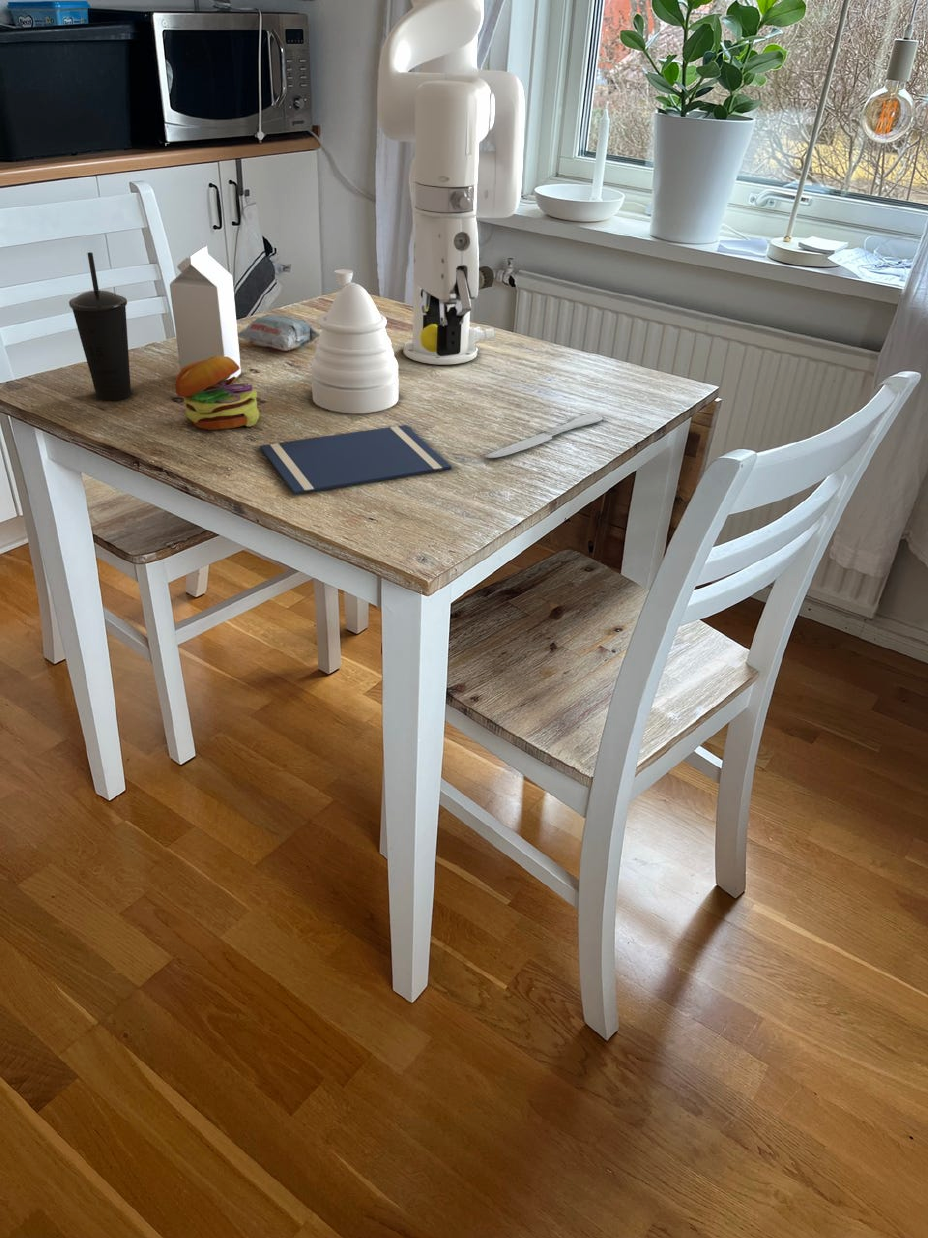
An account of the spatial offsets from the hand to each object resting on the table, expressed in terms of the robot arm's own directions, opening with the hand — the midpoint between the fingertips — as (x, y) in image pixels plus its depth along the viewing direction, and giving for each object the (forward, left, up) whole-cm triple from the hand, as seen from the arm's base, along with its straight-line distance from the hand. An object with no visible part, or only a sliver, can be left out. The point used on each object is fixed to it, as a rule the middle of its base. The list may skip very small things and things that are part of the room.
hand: (441, 347), depth 124 cm
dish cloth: (+13, +3, -12) cm, 18 cm away
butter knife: (-14, +5, -12) cm, 20 cm away
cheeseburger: (+26, -16, -13) cm, 33 cm away
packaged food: (+9, -45, -13) cm, 48 cm away
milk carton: (+23, -33, -13) cm, 43 cm away
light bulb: (0, 0, -1) cm, 1 cm away
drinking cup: (+38, -31, -13) cm, 51 cm away
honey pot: (+5, -18, -13) cm, 23 cm away
